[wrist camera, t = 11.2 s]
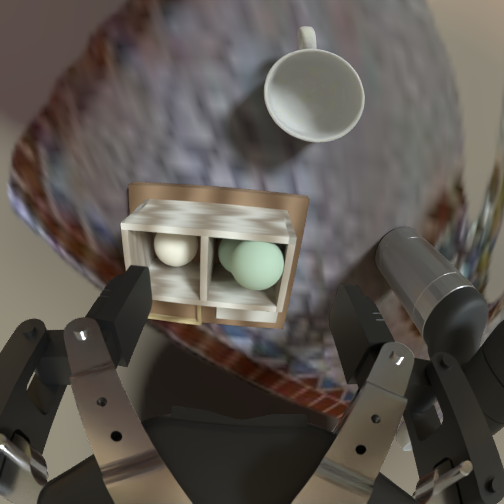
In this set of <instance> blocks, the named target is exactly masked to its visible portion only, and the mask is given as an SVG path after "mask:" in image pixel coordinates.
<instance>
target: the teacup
mask: <svg viewBox="0 0 504 504" xmlns="http://www.w3.org/2000/svg"><path fill="white" fill-rule="evenodd" d="M297 48H298V50H297V51H294V52H291V53H289V54H287V55H285V56H283V57H282V58H280V59H279V60H278V61H277V62H276V63H275V64H274V65H273V66H272V67H271V69H270V71H269V72H268V74H267V77H266V80H265V84H264V101H265V104H266V107H267V110H268V112H269V114H270V116H271V117H272V119H273V120H274V122H275V123H276V124H277V125H278V126H279V127H280V128H281V129H282V130H284V131H285V132H286V133H288V134H290V135H291V136H293V137H295V138H297V139H301V140H304V141H309V142H317V143H321V142H328V141H333V140H336V139H338V138H340V137H342V136H344V135H345V134H347V133H348V132H349V131H350V130H352V128H353V127H354V126H355V125H356V124H357V122H358V121H359V119H360V117H361V115H362V111H363V108H364V97H365V95H364V90H363V86H362V83H361V81H360V78H359V76H358V74H357V73H356V71H355V70H354V69H353V68H352V67H351V65H350V64H349V63H348V62H346V61H345V60H344V59H342V58H341V57H339V56H337V55H335V54H333V53H331V52H328V51H324V50H319V49H316V36H315V32H314V30H313V29H312V28H311V27H300V28H299V29H298V32H297Z"/></svg>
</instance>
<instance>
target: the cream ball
mask: <svg viewBox="0 0 504 504" xmlns="http://www.w3.org/2000/svg"><path fill="white" fill-rule="evenodd" d="M154 249H155V252H156V254H157V256H158V258H159V259H160V260H161V261H162V262H164V263H165V264H167V265H170V266H175V267H178V266H183V265H185V264H187V263H189V262H190V261H191V260H192V259H193V258H194V257H195V255H196V253H197V250H198V238H197V236H194V235H183V234H171V233H159V232H157V234H156V236H155V239H154Z"/></svg>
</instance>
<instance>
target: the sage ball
mask: <svg viewBox="0 0 504 504" xmlns="http://www.w3.org/2000/svg"><path fill="white" fill-rule="evenodd" d="M230 267H231V272H232V274H233V276H234V278H235V280H236V281H237V282H238V283H239V284H240V285H242V286H243V287H245V288H247V289H250V290H264V289H267V288H269V287H271V286H273V285H274V284H275V283H276V282H277V281H278V280H279V278H280V277H281V275H282V272H283V268H284V259H283V255H282V252H281V251H280V249H279V247H278V246H277V245H276V244H275V243H271V242H261V241H250V240H244V241H242V242H241V243H239V244H238V245H237V246H236V248H235V249H234V251H233V253H232V256H231V260H230Z"/></svg>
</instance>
